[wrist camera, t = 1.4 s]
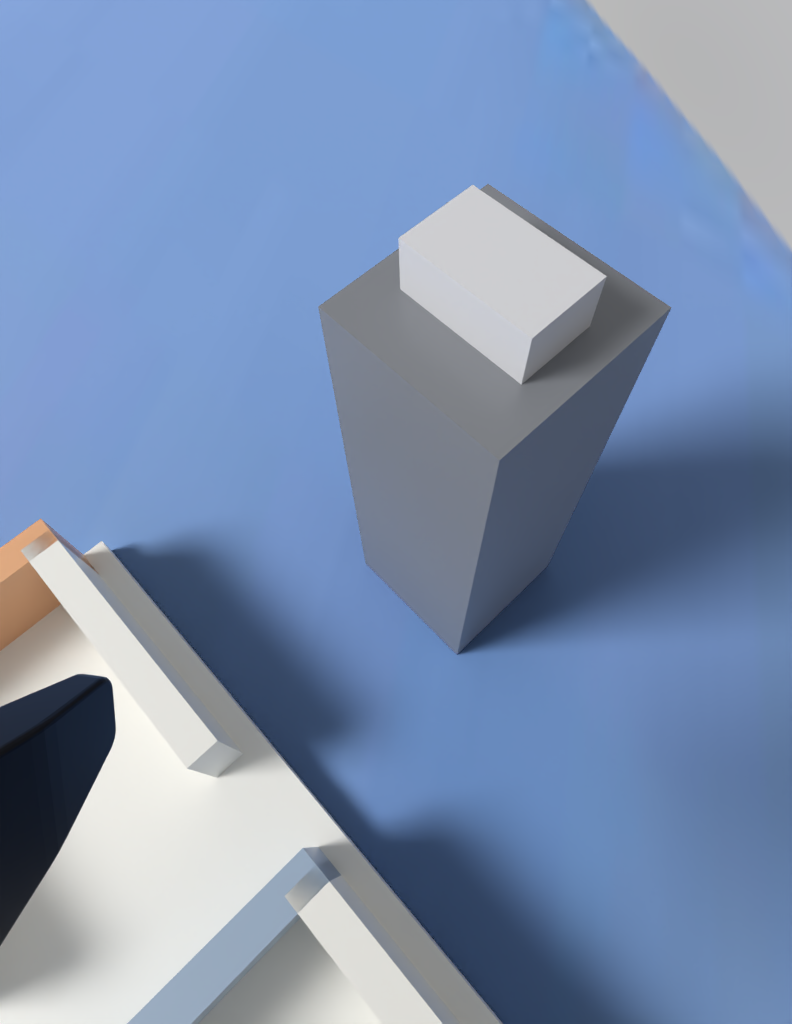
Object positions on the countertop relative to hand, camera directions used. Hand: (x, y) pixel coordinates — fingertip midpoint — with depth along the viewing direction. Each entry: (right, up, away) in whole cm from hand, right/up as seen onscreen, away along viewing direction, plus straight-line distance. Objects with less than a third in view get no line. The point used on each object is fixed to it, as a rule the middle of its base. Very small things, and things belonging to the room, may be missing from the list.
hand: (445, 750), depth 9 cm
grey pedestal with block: (+1, +1, +15) cm, 16 cm away
